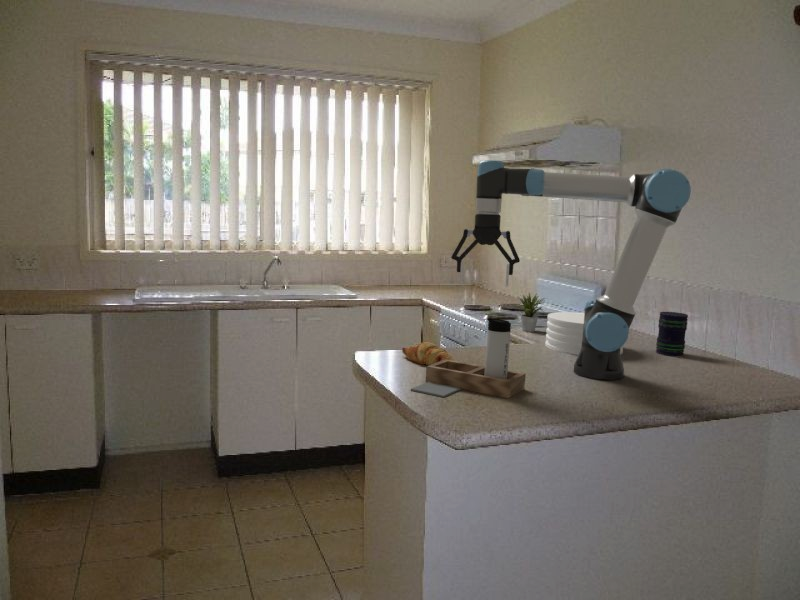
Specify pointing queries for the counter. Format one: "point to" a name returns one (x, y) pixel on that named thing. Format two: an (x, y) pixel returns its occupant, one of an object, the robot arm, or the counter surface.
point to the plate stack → (566, 332)
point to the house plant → (530, 313)
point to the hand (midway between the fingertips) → (483, 284)
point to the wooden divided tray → (474, 378)
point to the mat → (436, 389)
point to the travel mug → (497, 348)
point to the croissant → (426, 353)
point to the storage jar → (671, 334)
